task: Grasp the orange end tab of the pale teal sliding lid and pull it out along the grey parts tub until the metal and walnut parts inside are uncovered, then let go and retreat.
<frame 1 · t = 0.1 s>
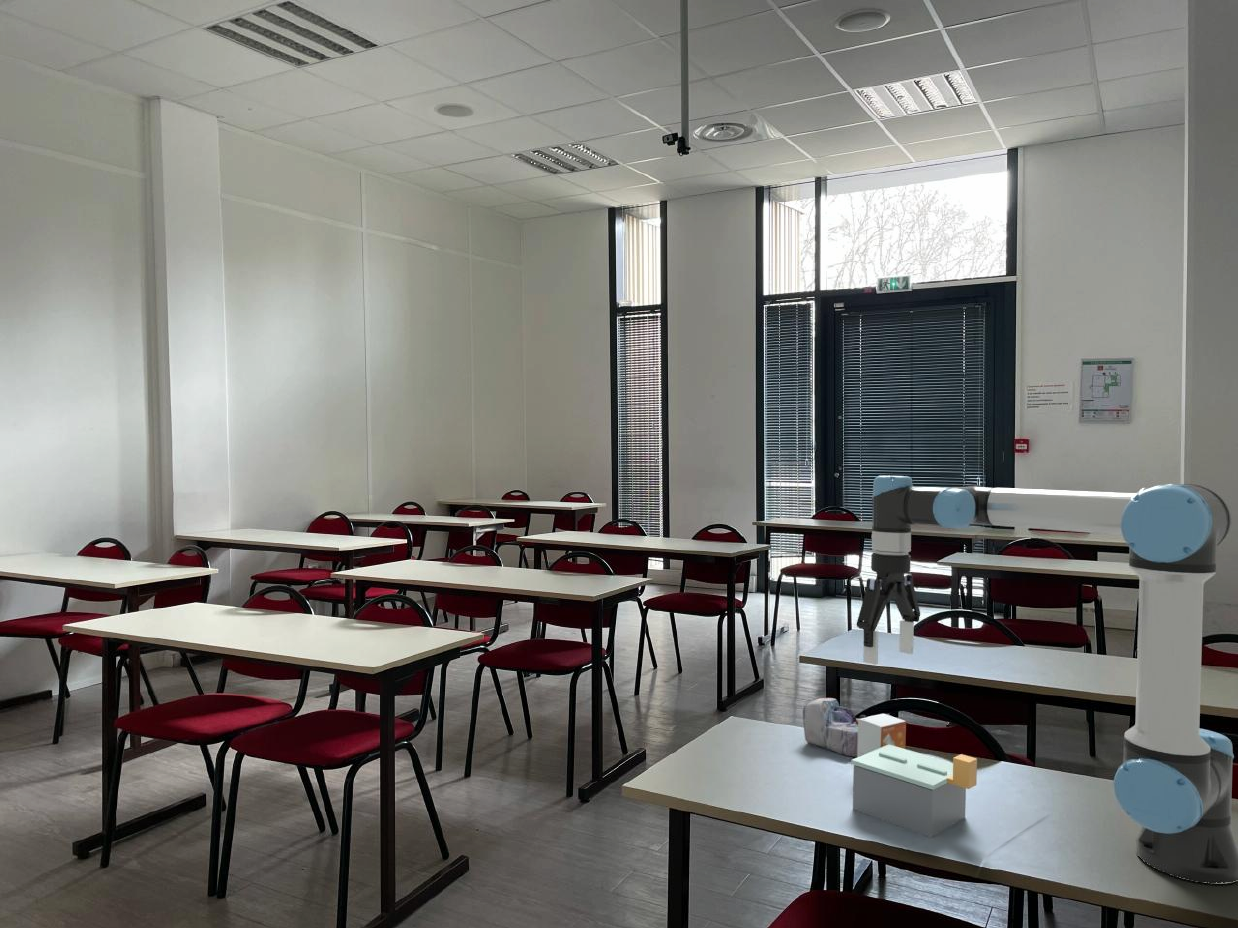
hand: (888, 657, 174), 28 cm above the table, fingers open, 13 cm apart
lid: (919, 757, 163), point 12 cm above the table, slide at 0.0 cm
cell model: (846, 749, 202), on the table
small box: (880, 781, 182), on the table
tub: (908, 816, 164), on the table
walnut part: (881, 809, 166), point 1 cm above the table, touching tub
metal part: (903, 805, 168), point 1 cm above the table, touching tub
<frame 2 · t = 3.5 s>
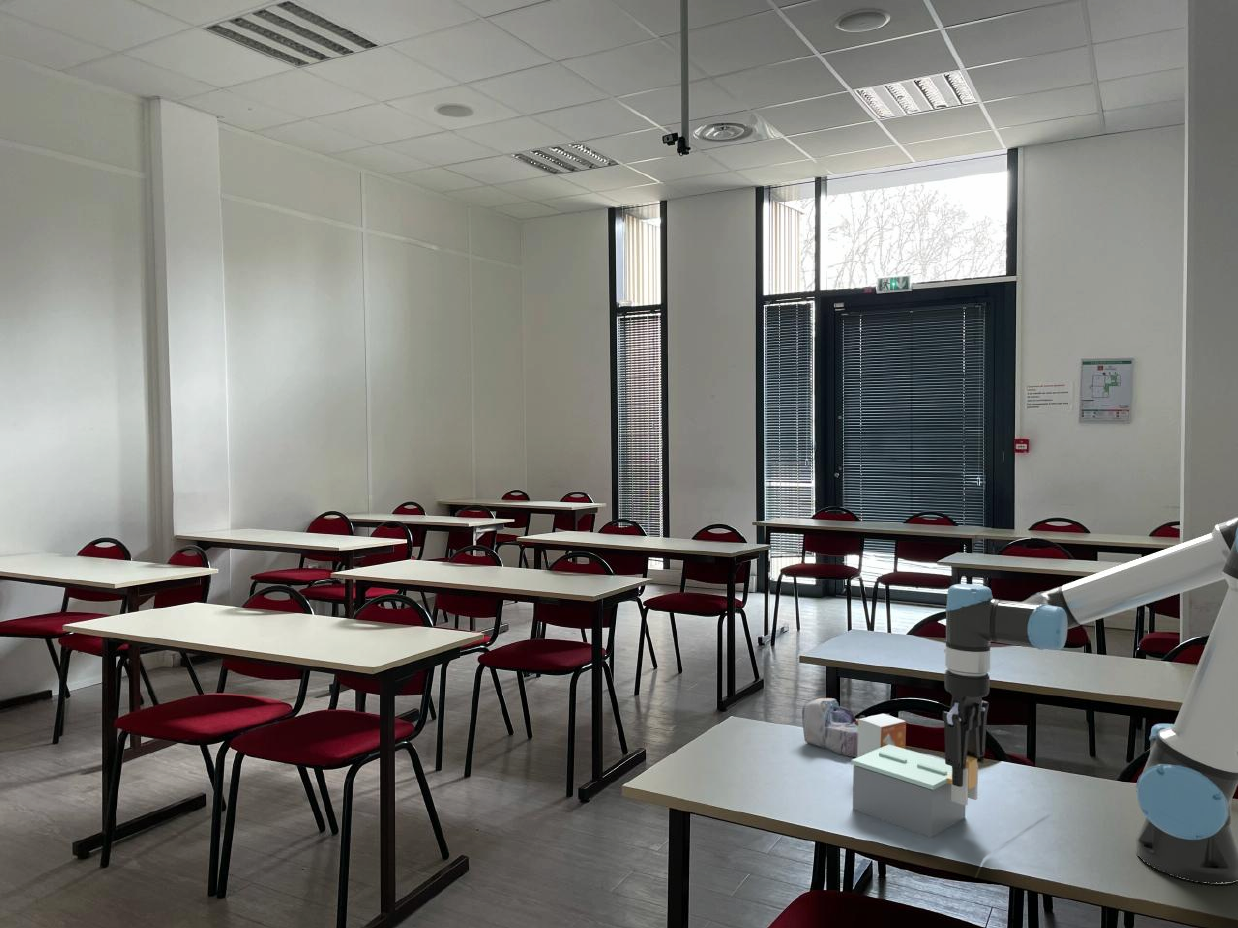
hand: (964, 799, 156), 7 cm above the table, fingers closed on lid, 3 cm apart
lid: (919, 758, 163), point 12 cm above the table, slide at 0.0 cm, touching gripper
everything else where it was.
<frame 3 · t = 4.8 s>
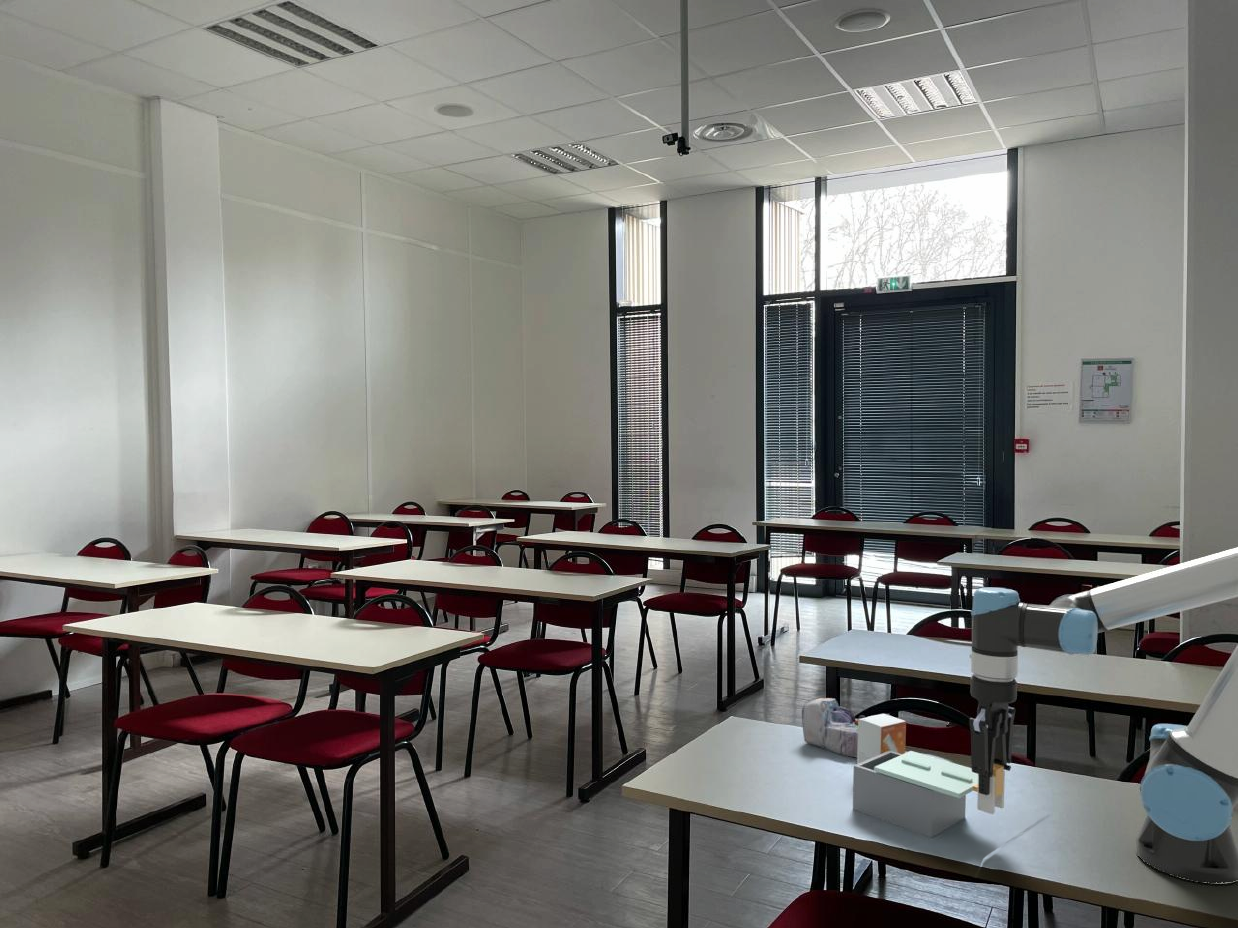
hand: (990, 807, 153), 7 cm above the table, fingers closed on lid, 3 cm apart
lid: (943, 765, 159), point 12 cm above the table, slide at 4.8 cm, touching gripper
everything else where it was.
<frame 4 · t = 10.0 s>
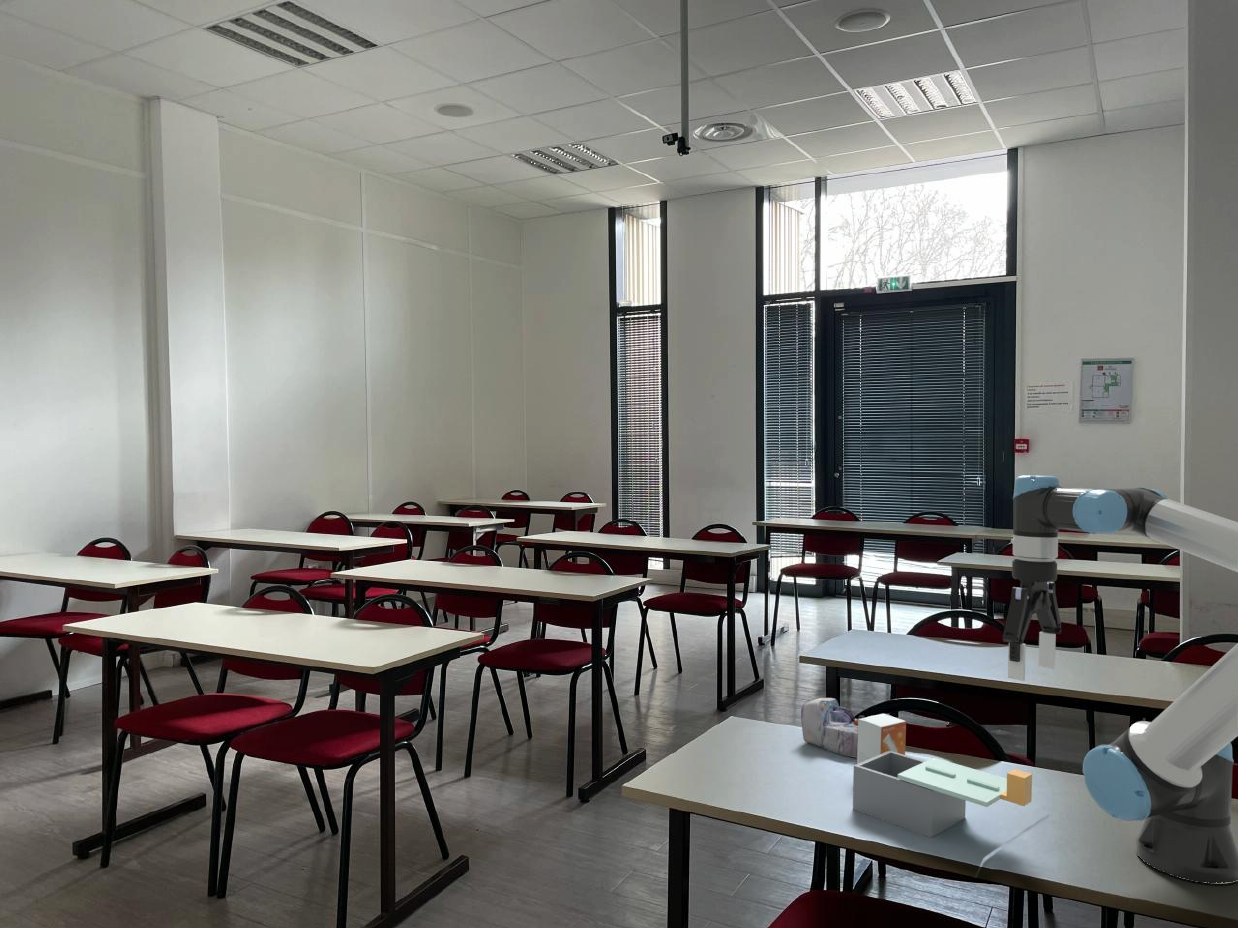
hand: (1031, 673, 160), 29 cm above the table, fingers open, 13 cm apart
lid: (969, 772, 155), point 12 cm above the table, slide at 9.7 cm
everything else where it was.
at the end: lid slide at 9.7 cm; the gripper is holding nothing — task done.
